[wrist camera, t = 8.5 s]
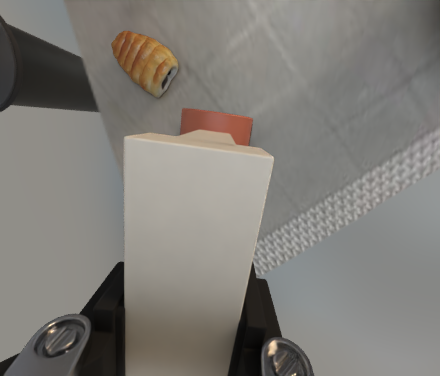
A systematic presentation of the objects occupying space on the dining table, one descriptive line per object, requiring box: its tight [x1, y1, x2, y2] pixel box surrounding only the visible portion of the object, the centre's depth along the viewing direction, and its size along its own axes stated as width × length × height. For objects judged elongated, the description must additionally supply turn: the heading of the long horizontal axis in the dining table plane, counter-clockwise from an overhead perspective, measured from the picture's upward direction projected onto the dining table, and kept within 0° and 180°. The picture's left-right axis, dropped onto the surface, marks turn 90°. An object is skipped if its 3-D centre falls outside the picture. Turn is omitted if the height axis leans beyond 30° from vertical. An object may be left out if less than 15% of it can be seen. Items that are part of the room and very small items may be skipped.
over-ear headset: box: [124, 108, 274, 376], centre depth 12 cm, size 4×14×12 cm, turn 172°
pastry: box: [111, 31, 178, 97], centre depth 30 cm, size 9×7×4 cm
